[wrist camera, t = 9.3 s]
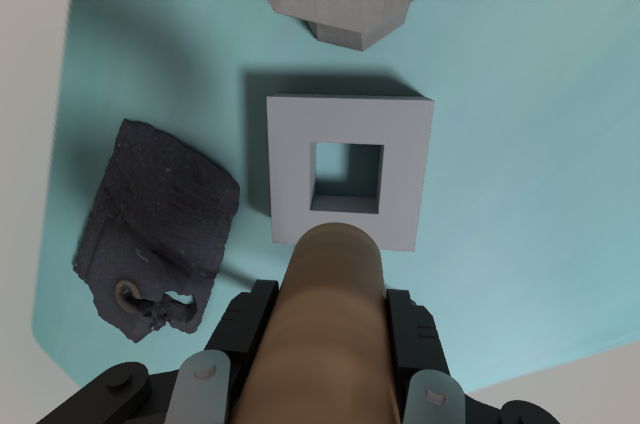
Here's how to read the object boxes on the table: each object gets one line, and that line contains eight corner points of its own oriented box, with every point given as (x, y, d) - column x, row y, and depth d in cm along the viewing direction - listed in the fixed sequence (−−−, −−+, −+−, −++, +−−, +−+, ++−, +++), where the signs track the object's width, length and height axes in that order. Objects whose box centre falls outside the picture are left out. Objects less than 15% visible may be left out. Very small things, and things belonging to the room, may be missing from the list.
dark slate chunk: (274, 187, 33) (260, 205, 28) (193, 337, 41) (173, 369, 37) (124, 103, 31) (86, 108, 27) (72, 277, 40) (36, 303, 35)
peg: (291, 220, 15) (184, 454, 6) (384, 224, 15) (428, 483, 5) (293, 296, 17) (210, 579, 7) (377, 302, 16) (402, 609, 7)
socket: (278, 93, 29) (266, 96, 25) (424, 96, 28) (434, 100, 24) (282, 223, 34) (272, 242, 30) (408, 231, 32) (414, 251, 29)
